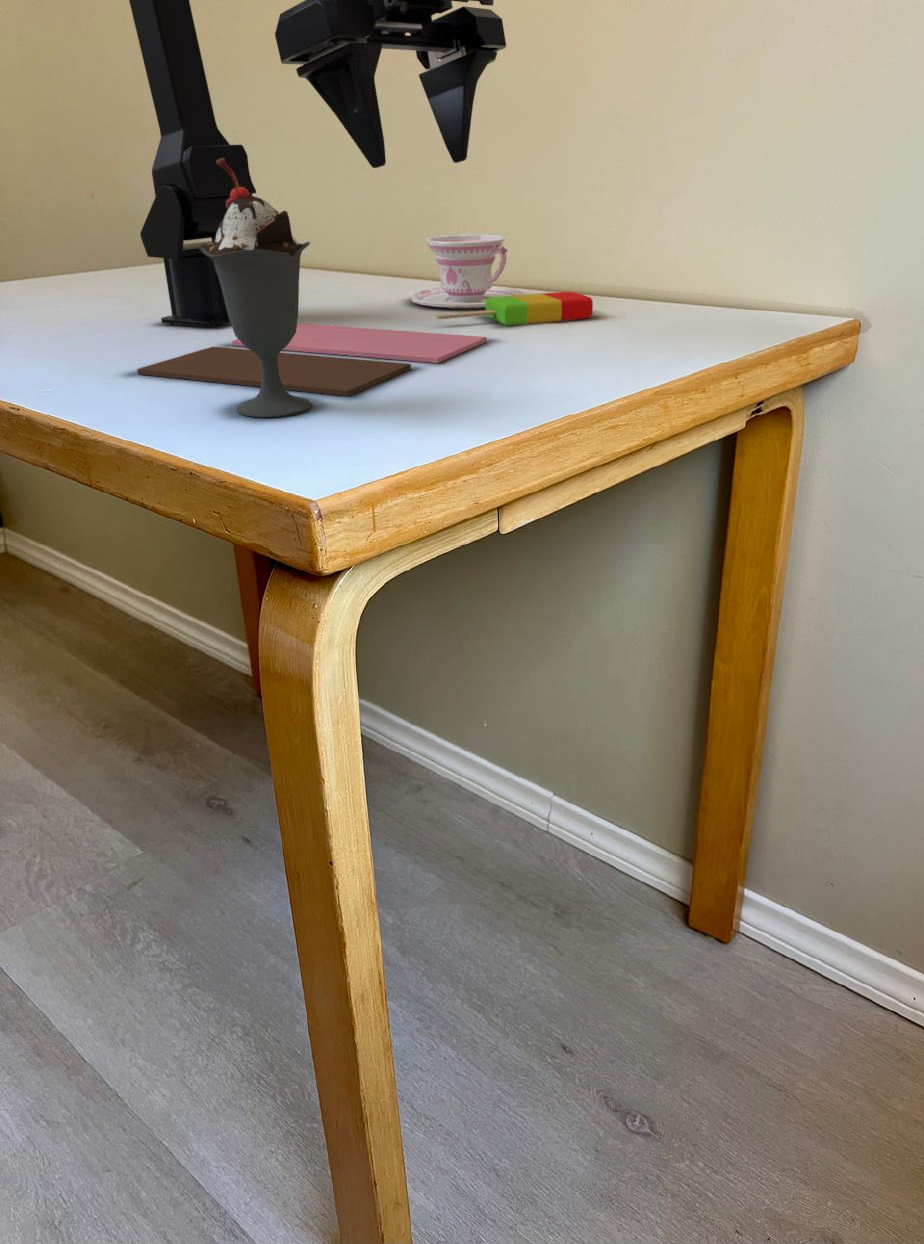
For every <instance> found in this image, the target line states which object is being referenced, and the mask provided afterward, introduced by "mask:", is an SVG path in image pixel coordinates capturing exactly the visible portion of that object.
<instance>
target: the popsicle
mask: <svg viewBox="0 0 924 1244" xmlns="http://www.w3.org/2000/svg"><path fill="white" fill-rule="evenodd" d="M485 305H486V307H485V310H478V311H463V312H453V313H440V314H435V319H436V320H447V319H458V318H469V317H470V318H471V317H482V316H486V317H488V318H489V319H490V320H494V321H496V322H498V323H500V324H503V325H505V326H516V325H528V324H529V325H530V324H539V323H541V324H542V323H549V322H550V323H551V322H561V321H562V322H563V321H574V320H584V319H585V320H586V319H589V318H591V317H592V315H593V312H594V311H593V309H594V308H593V307H594V302H593V298H592V297H590V296H589V295H585V294H582V293H578V292H575V291H557V292H556V291H555V292H545V293H533V294H525V295H517V296H505V297H492V298H488V299H487V300H486V304H485Z"/></svg>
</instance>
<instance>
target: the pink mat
mask: <svg viewBox="0 0 924 1244" xmlns="http://www.w3.org/2000/svg"><path fill="white" fill-rule="evenodd" d="M486 342H487V336H480V335H479V336H477V335H466V334H465V335H463V334H453V333H452V334H450V333H437V332H436V333H435V332H434V333H433V332H423V331H407V330H393V329H382V328H366V327H352V326H341V325H340V326H339V325H325V324H324V325H323V324H310V323H298V322H297V328H296V333H295V335H294V336H293V338H292V340H291V341H290V343H289V344H288V345H287V346H286V347H285V348H284V349H283V350H282V351H290V352H303V353H314V354H326V355H340V356H349V357H350V356H351V357H361V358H371V359H373V358H374V359H384V360H395V361H396V360H398V361H409V362H419V363H430V364H431V363H432V364H439V363H441V362H445V361H446V360H448V359H450V358H452V357H455V356H457V355H459V354H462V353H464V352H466V351H468V350H472V349H473V348H475V347H477V346H480V345H482V344H484V343H486ZM231 344H232V345H231V346H233V347H245V346H244V344H243V343H242V342H241V341H240V340H239V339H238V338H237V339H235V340H232V341H231ZM245 348H246V347H245Z"/></svg>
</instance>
